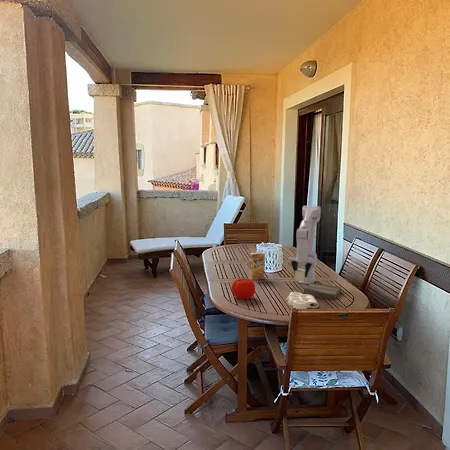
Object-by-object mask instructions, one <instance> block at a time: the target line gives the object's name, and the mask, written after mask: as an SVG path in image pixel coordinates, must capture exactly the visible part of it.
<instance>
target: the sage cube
mask: <svg viewBox="0 0 450 450" xmlns="http://www.w3.org/2000/svg"><path fill="white" fill-rule="evenodd" d="M306 279H307V277H305V270H302V269H301V268H297V270H296V271H295V274H294V281H297V282H298V281H303V282H304V281H305V280H306Z"/></svg>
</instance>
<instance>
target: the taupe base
mask: <svg viewBox="0 0 450 450" xmlns="http://www.w3.org/2000/svg"><path fill="white" fill-rule="evenodd" d="M341 292H342V287H341V286H338V285H337V286H336V285H330V284H323V283H317V282H314V283H311V284H308V285H307V286H306V287H305V288H304V289H303V291H302V294H308V295H312V296H314V298H321V299H327V300H333V301H334V300H336V299H337V297H338V296H339V294H341Z"/></svg>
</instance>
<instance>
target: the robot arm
mask: <svg viewBox="0 0 450 450" xmlns="http://www.w3.org/2000/svg"><path fill="white" fill-rule="evenodd" d="M301 210H302V211H301V213H302V214H301V215H302V219H303V220H301V222H300V225H299V228H297V229H296V234H295V237H296V257H293V256H289V257H288V258H287V262H291V263H290V264H291V267H292V271H293V274H294V275H295V271H296V270H297V269H298V266H300V267H299V268H300V269H302V270H305V277H307V279H306V280H305V281H304V282H303V281H297V283H299V284H304V285H310V284H311V283H316V281H317V280H316V279H315V268H316V267H317V262H318V255H317V253H316V252H315V251H314V250H313V249H314V240H315V232H316V224H317V223H319V222H320V219H321V214H322V212H321V211H322V207H321V206H319V205H318V206H314V205H313V206H312V205H303V206H302V209H301Z"/></svg>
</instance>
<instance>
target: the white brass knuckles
mask: <svg viewBox="0 0 450 450" xmlns="http://www.w3.org/2000/svg"><path fill="white" fill-rule="evenodd" d="M315 298H316V297H314V296H312V295H308V294H303V292H302V293H301V292H298V291H297V292H296V291H291V292H290V293H289V295H288V296H287V297H286V298H285V300H286V301H287V302H286V303H287V304H288V305H289V306H291V307H293V309H294V308H296V309H295V310H297V309H305V310H307V309H311V308H312V309H316V308H318V307H319V306H320V305H319V303H318V302H317V299H315ZM311 304H312V305H311Z"/></svg>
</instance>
